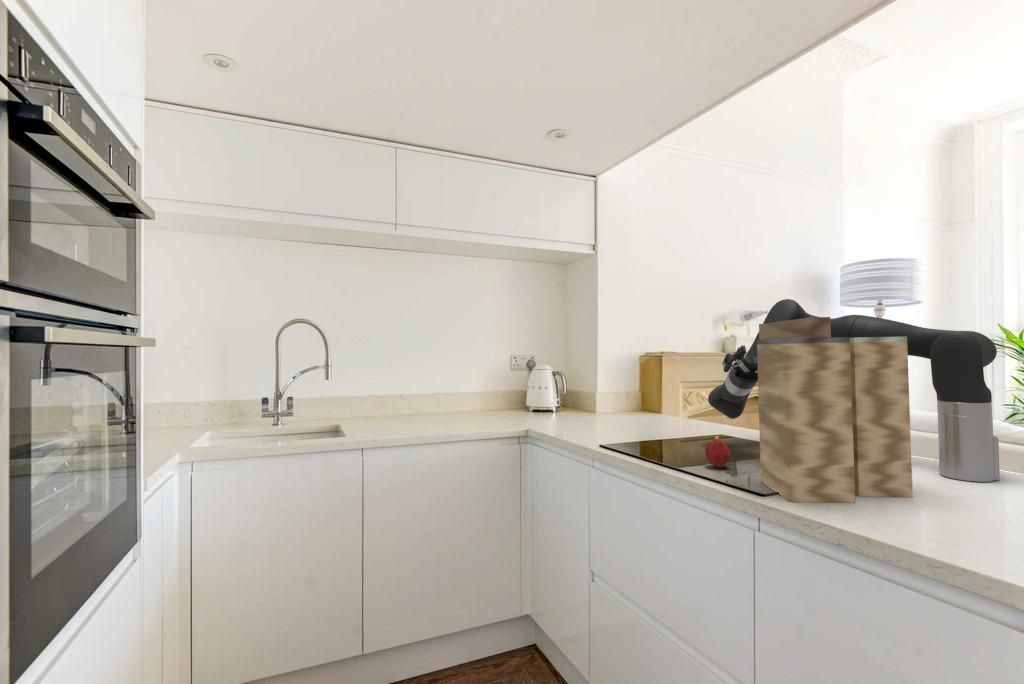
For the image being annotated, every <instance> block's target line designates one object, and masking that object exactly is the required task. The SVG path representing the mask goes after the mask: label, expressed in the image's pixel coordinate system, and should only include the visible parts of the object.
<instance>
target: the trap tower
mask: <svg viewBox="0 0 1024 684" xmlns="http://www.w3.org/2000/svg"><path fill="white" fill-rule="evenodd" d="M757 360H758V382H757V388H758V391H757V393H758V419H759V420H758V421H759V422H758V423H759V424H758V427H759V429H758V430H759V454H760V456H759V459H760V462H759V463H760V483H761V482H762V483H764V484H766V485H767V486H769V487H771V488H773V489H774V490H776V491H778V492H779V494H780V495H781V496H780V495H779V494H778V495H779V496H780V497H782V498H784V499H785V500H787V501H788V502H790V503H854V504H856V495H855V481H854V450H853V420H852V389H851V359H850V337H842V338H793V339H770V340H757ZM762 483H761V484H762ZM764 484H763V485H764ZM767 486H766V487H767Z"/></svg>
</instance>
